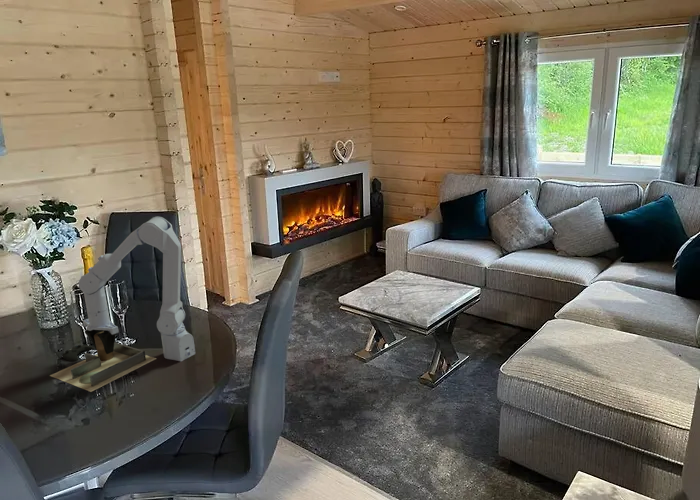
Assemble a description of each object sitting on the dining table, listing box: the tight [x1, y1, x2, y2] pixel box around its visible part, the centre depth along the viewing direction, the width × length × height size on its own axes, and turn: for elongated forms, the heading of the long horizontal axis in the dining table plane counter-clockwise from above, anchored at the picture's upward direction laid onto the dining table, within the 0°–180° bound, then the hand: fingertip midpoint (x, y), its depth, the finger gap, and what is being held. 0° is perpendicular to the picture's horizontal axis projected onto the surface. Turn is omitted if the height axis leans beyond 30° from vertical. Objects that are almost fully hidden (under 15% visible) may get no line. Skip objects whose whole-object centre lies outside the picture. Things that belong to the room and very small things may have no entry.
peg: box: [94, 332, 114, 361], centre depth 162 cm, size 4×4×8 cm
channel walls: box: [71, 341, 146, 387], centre depth 156 cm, size 16×18×3 cm
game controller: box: [61, 344, 96, 362], centre depth 166 cm, size 10×5×6 cm
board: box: [49, 351, 157, 393], centre depth 157 cm, size 20×22×1 cm
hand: (104, 350), depth 162 cm, fingers closed on peg, 4 cm apart
